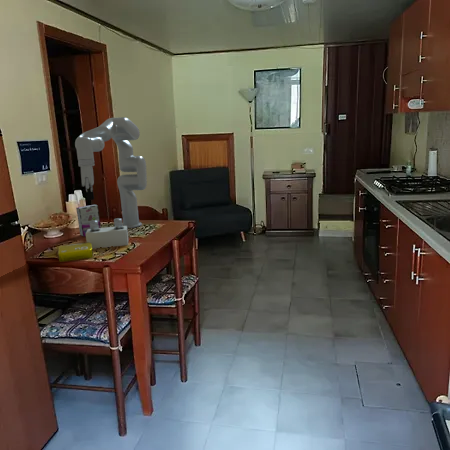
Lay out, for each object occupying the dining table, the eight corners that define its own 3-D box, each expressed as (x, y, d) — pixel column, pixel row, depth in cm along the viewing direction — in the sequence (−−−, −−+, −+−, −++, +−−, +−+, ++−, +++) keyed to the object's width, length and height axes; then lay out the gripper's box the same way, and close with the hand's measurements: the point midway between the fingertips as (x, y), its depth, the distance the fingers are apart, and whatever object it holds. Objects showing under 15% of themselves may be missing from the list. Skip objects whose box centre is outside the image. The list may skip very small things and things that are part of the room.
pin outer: (91, 231, 213) (89, 220, 212) (99, 231, 214) (98, 219, 213) (90, 233, 209) (89, 222, 208) (98, 233, 210) (97, 221, 209)
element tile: (91, 250, 207) (90, 241, 206) (93, 258, 193) (92, 248, 192) (60, 254, 202) (58, 245, 201) (59, 263, 188) (57, 253, 187)
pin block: (89, 243, 217) (87, 229, 216) (128, 240, 221) (126, 225, 219) (87, 248, 208) (85, 233, 206) (128, 244, 211) (126, 229, 210)
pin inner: (115, 229, 215) (114, 218, 214) (123, 229, 216) (121, 217, 215) (114, 231, 212) (113, 220, 210) (122, 230, 212) (121, 219, 211)
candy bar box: (97, 231, 244) (94, 204, 241) (101, 232, 241) (98, 205, 237) (79, 235, 237) (75, 207, 234) (83, 236, 234) (79, 208, 230)
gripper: (80, 162, 210) (84, 198, 214) (76, 164, 196) (80, 202, 200) (95, 161, 211) (99, 197, 215) (92, 163, 197) (96, 201, 201)
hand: (90, 199), depth 208 cm, fingers closed
